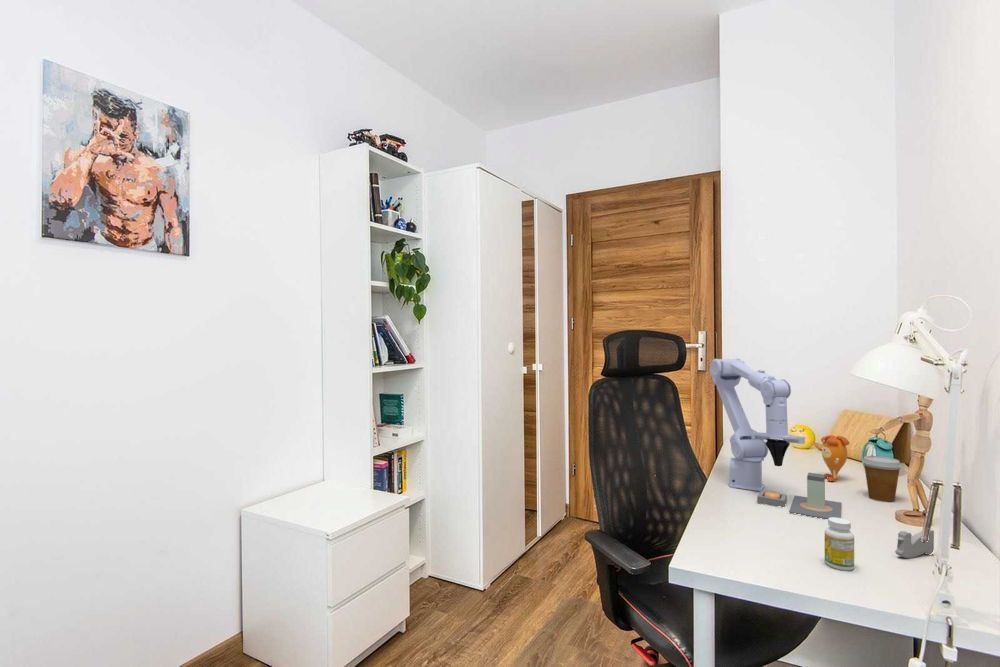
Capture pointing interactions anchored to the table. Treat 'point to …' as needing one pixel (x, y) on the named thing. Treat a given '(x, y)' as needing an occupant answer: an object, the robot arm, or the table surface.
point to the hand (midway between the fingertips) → (778, 465)
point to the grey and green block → (816, 491)
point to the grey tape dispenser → (914, 544)
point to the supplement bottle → (839, 544)
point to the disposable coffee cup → (881, 477)
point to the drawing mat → (801, 508)
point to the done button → (772, 495)
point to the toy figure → (834, 454)
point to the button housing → (772, 499)
